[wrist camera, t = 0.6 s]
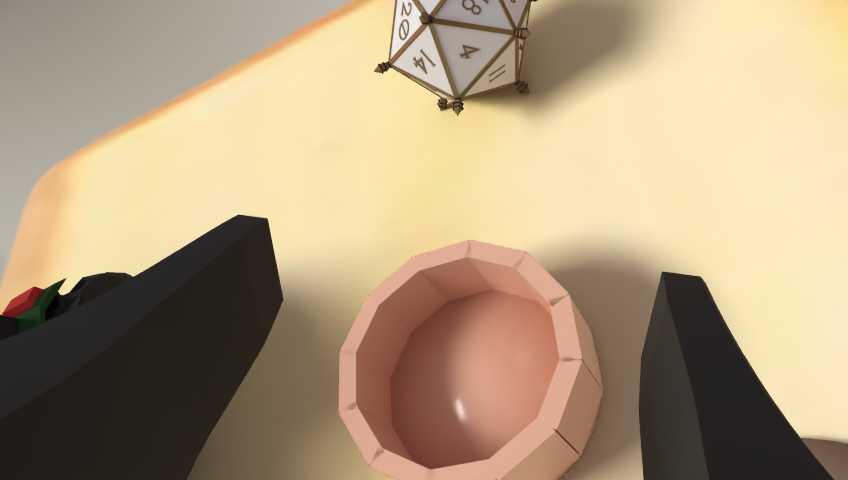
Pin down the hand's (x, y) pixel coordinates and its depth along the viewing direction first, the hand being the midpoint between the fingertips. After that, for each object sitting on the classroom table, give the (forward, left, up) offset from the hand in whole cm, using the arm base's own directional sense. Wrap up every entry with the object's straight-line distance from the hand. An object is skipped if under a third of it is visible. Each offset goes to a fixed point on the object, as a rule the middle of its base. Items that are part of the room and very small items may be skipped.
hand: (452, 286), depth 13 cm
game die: (+23, +3, -17) cm, 29 cm away
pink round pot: (+5, +5, -17) cm, 18 cm away
